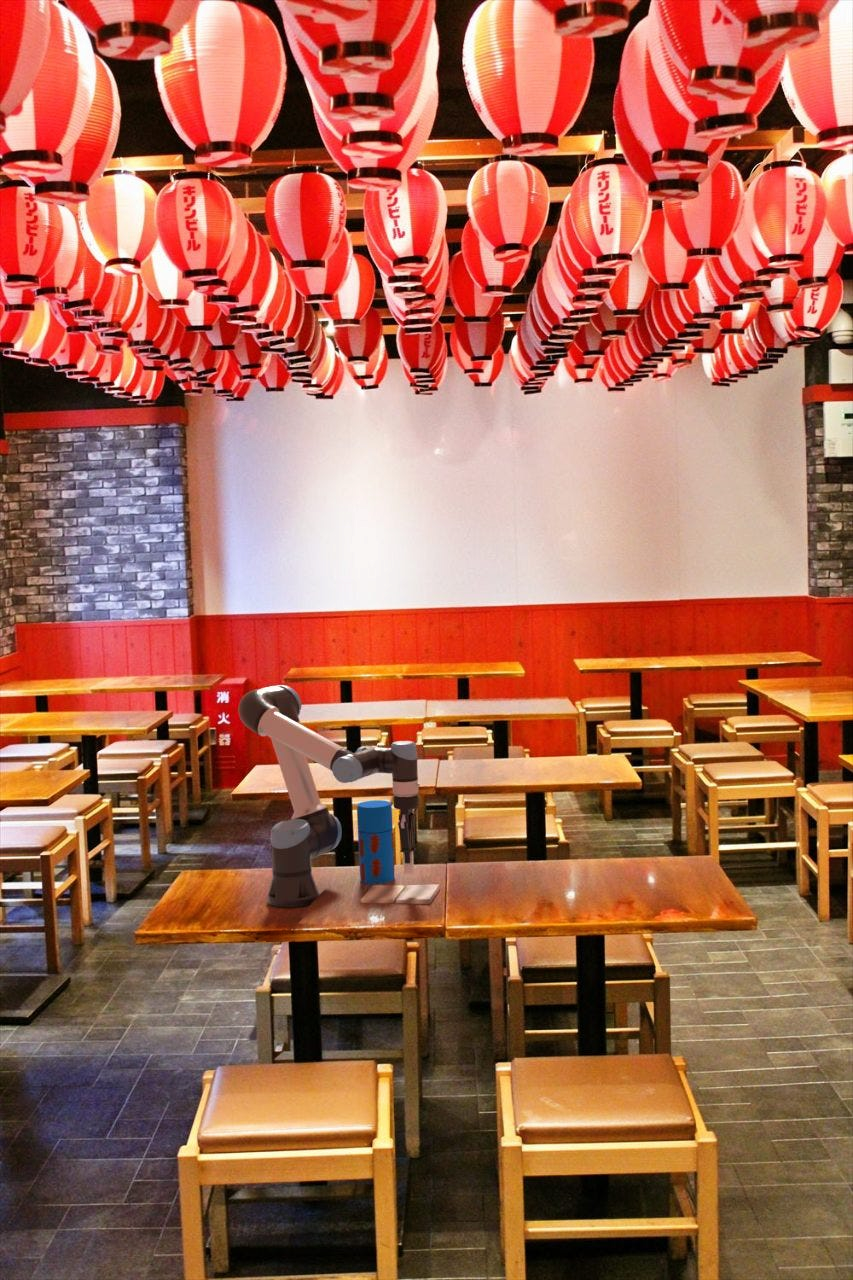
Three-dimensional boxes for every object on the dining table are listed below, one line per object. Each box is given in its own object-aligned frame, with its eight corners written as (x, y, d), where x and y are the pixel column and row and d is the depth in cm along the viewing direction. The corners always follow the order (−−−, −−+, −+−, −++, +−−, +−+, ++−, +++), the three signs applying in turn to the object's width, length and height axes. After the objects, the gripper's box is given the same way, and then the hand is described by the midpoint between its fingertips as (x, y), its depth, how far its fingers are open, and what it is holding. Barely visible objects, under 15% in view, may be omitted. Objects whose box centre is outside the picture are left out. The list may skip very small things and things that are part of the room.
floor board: (360, 907, 347) (360, 900, 347) (373, 891, 363) (373, 884, 362) (431, 908, 343) (430, 901, 343) (441, 892, 358) (441, 885, 358)
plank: (396, 906, 345) (395, 900, 345) (407, 891, 360) (407, 885, 360) (430, 905, 343) (429, 899, 343) (439, 890, 358) (439, 884, 358)
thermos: (394, 887, 366) (390, 807, 364) (359, 888, 366) (355, 808, 364) (395, 877, 377) (392, 799, 375) (361, 878, 377) (358, 800, 375)
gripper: (413, 799, 343) (416, 879, 344) (422, 789, 355) (425, 867, 357) (388, 798, 344) (391, 879, 346) (398, 789, 357) (401, 866, 359)
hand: (408, 872), depth 352 cm, fingers closed
